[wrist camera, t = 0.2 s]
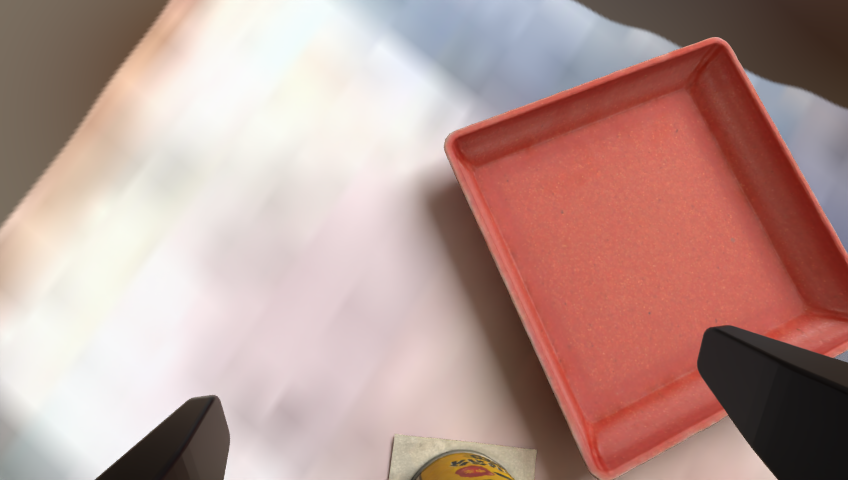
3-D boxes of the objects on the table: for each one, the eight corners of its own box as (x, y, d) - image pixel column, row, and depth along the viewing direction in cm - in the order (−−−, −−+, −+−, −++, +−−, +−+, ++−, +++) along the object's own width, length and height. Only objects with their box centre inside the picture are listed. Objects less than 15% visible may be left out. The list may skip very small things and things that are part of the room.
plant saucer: (830, 326, 25) (896, 327, 22) (568, 467, 22) (600, 492, 19) (684, 65, 28) (724, 31, 25) (430, 160, 25) (437, 136, 22)
